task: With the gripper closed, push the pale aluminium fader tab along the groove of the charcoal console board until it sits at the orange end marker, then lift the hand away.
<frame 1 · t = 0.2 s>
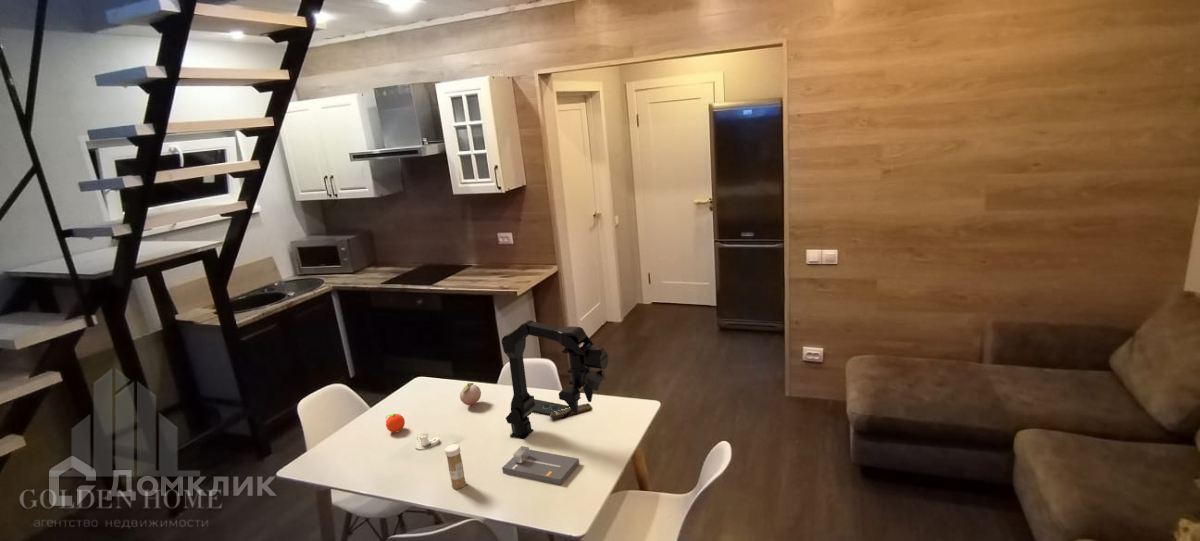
hand: (583, 407, 195), 14 cm above the table, tool pointing down, fingers open, 9 cm apart
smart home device: (546, 411, 229), on the table
decorative fruit: (472, 405, 239), on the table
white charger with cable: (428, 449, 210), on the table
fader tab: (521, 454, 191), point 4 cm above the table, slide at 0.0 cm
sprinkles bottle: (459, 485, 184), on the table
clementine: (396, 431, 225), on the table
console board: (541, 468, 189), on the table
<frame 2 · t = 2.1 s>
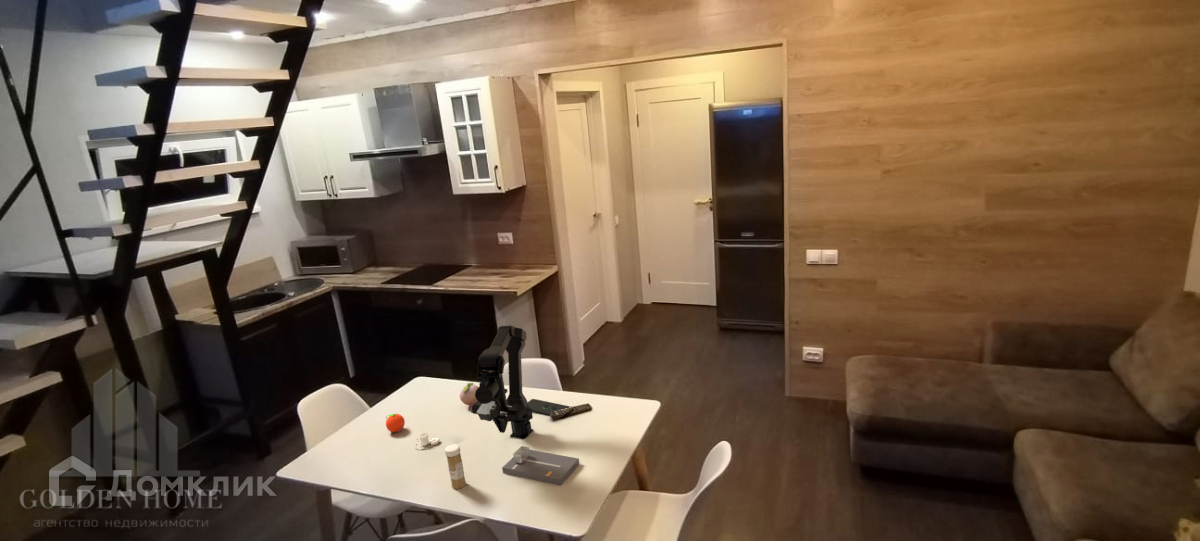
hand: (502, 432, 192), 11 cm above the table, tool pointing down, fingers closed
nothing on the table moved.
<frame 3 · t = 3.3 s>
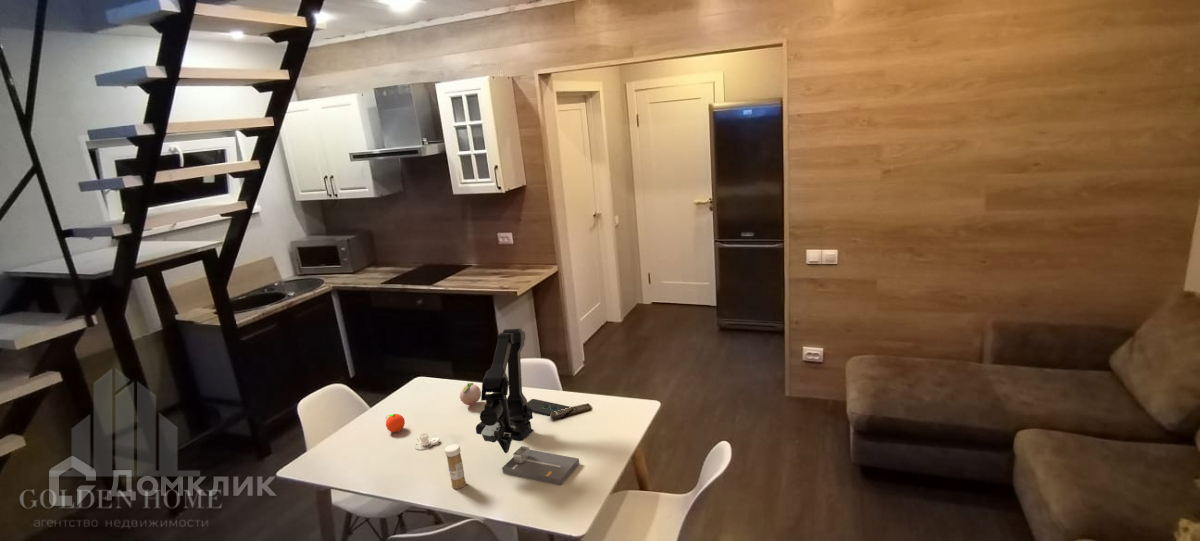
hand: (506, 452, 194), 4 cm above the table, tool pointing down, fingers closed
nothing on the table moved.
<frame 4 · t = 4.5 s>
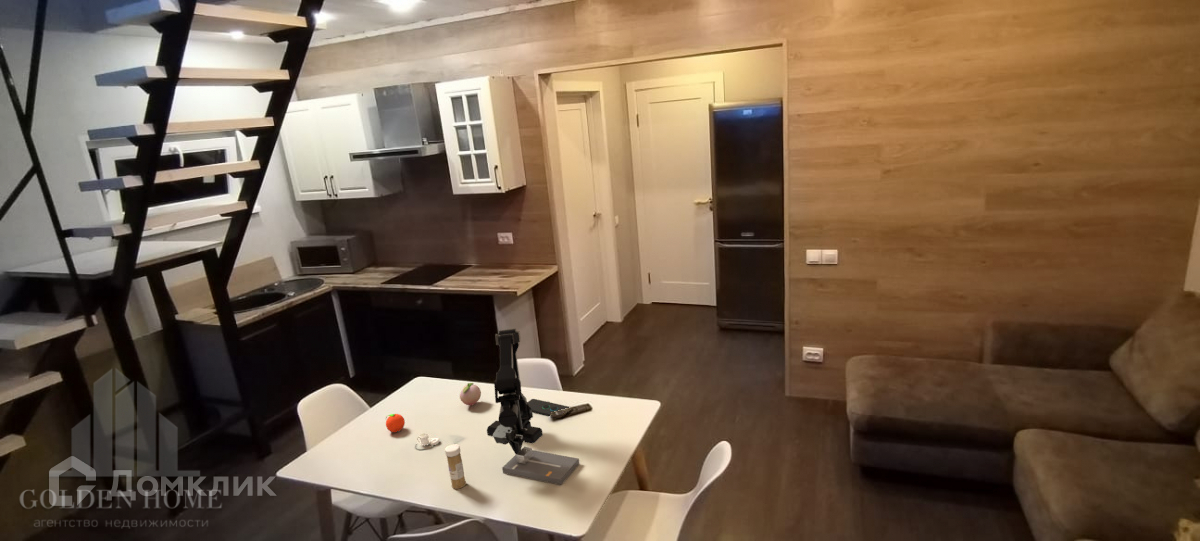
hand: (517, 454, 192), 4 cm above the table, tool pointing down, fingers closed
fader tab: (524, 455, 190), point 4 cm above the table, slide at 1.1 cm, touching gripper
everything else where it was.
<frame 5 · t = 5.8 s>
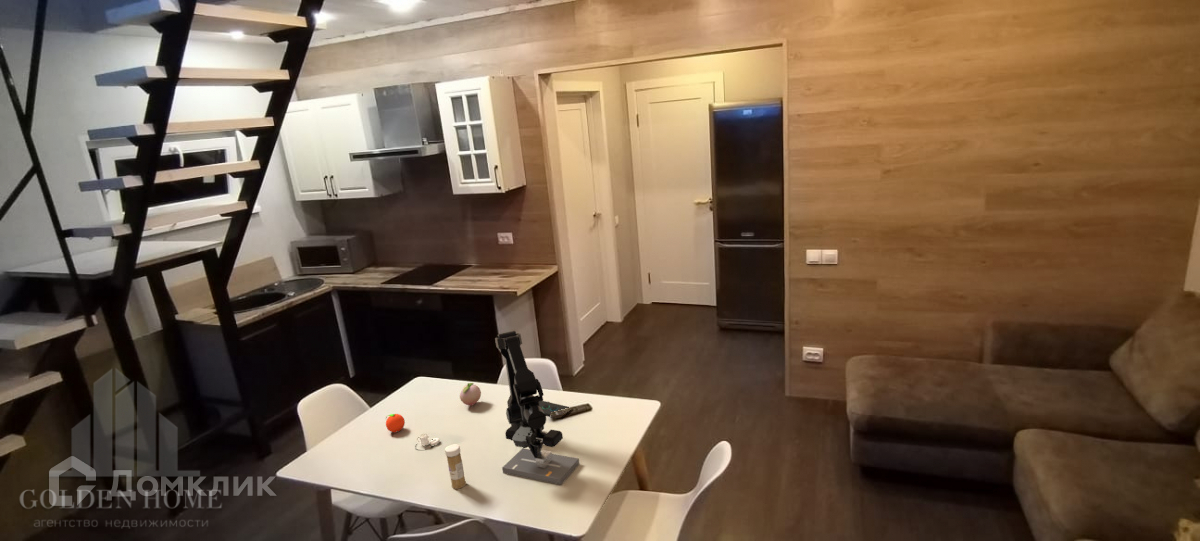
hand: (537, 458, 188), 4 cm above the table, tool pointing down, fingers closed
fader tab: (544, 458, 187), point 4 cm above the table, slide at 8.7 cm, touching gripper
everything else where it was.
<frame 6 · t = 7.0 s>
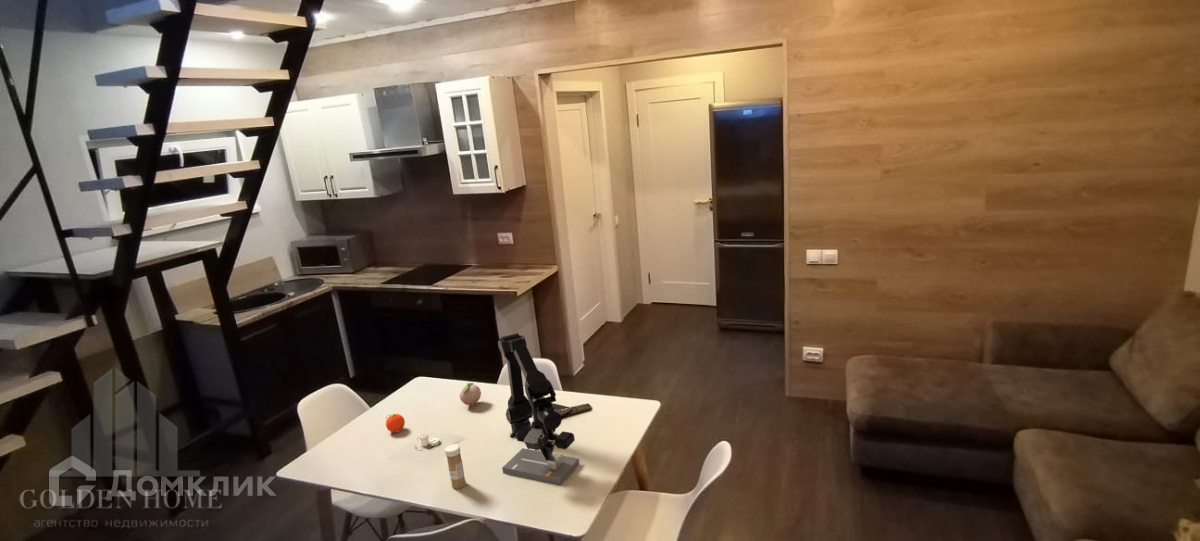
hand: (548, 460, 186), 4 cm above the table, tool pointing down, fingers closed
fader tab: (555, 461, 185), point 4 cm above the table, slide at 13.0 cm, touching gripper
everything else where it was.
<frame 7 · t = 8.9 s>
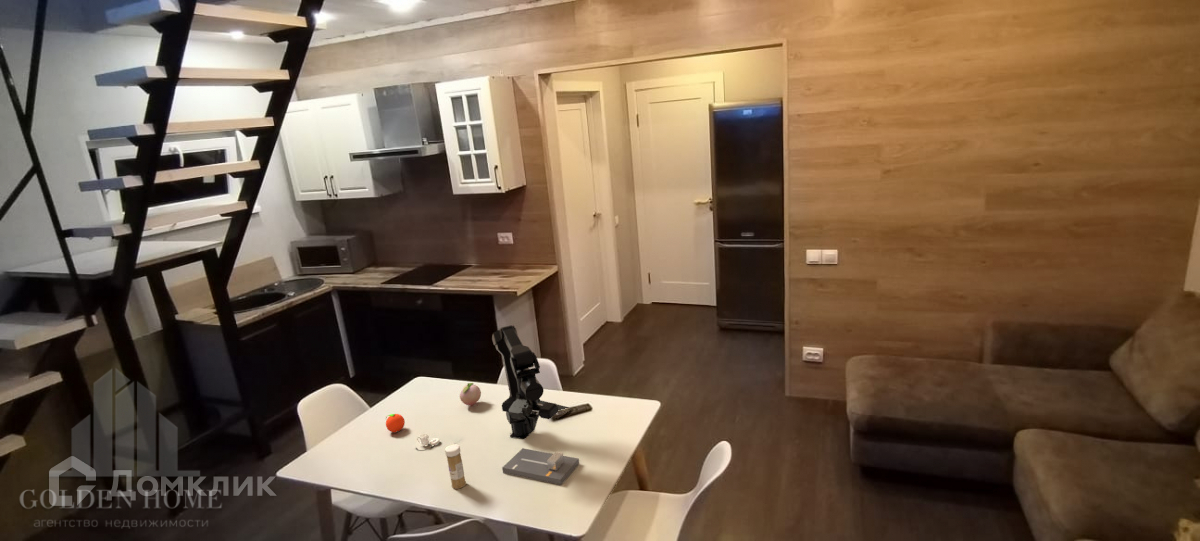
hand: (532, 430, 191), 11 cm above the table, tool pointing down, fingers closed
fader tab: (555, 461, 185), point 4 cm above the table, slide at 13.0 cm
everything else where it was.
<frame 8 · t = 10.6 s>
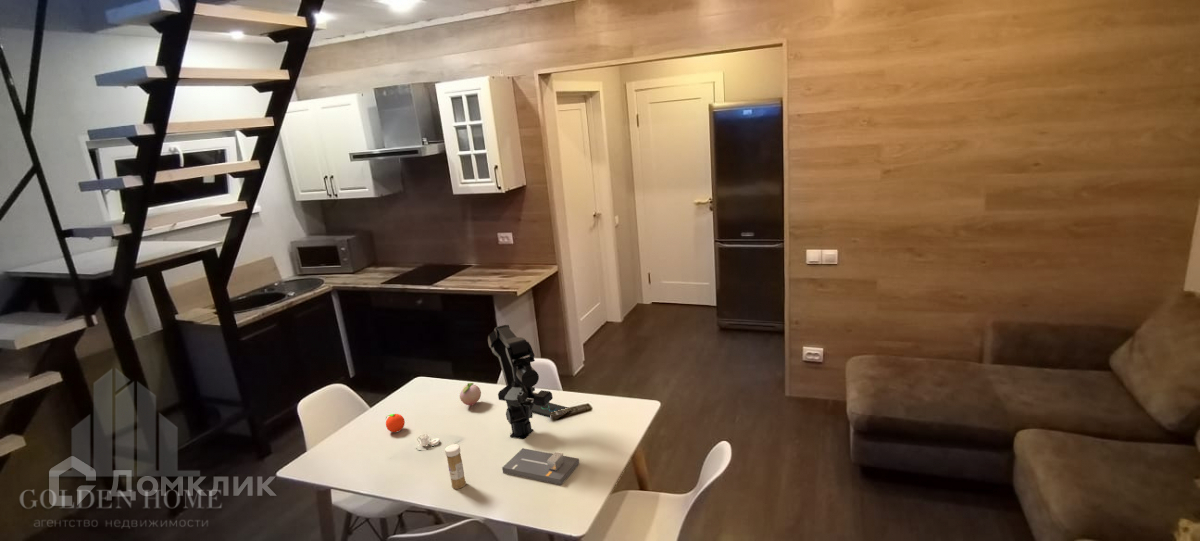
hand: (528, 418, 198), 12 cm above the table, tool pointing down, fingers closed
nothing on the table moved.
at the end: fader tab slide at 13.0 cm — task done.
